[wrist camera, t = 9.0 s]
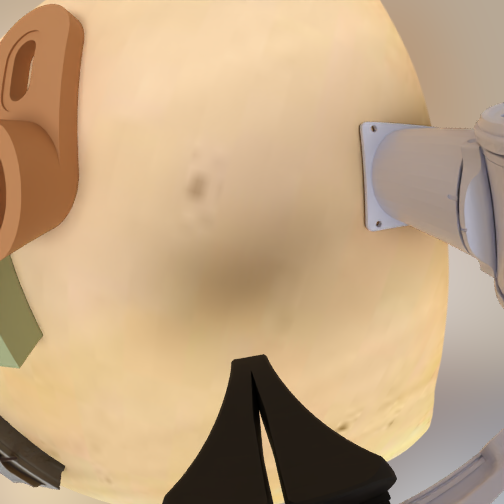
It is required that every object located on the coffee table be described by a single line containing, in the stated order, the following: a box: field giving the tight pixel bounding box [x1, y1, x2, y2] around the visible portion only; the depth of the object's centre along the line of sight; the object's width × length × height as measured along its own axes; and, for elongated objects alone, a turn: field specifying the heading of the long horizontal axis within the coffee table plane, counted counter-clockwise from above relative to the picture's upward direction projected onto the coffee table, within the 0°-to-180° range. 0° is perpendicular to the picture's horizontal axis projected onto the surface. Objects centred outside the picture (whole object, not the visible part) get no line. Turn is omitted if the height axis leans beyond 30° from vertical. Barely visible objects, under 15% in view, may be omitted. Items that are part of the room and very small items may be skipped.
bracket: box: [0, 4, 84, 261], centre depth 10 cm, size 18×8×7 cm, turn 1°
